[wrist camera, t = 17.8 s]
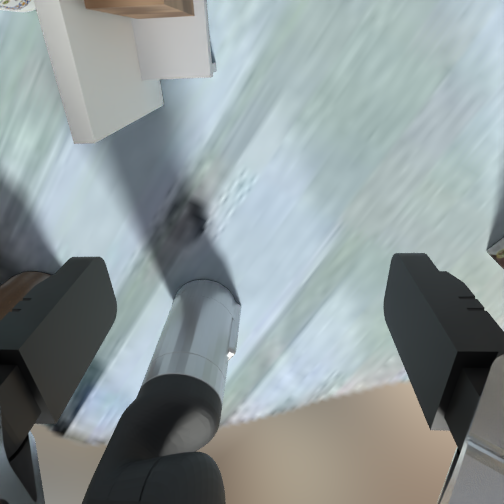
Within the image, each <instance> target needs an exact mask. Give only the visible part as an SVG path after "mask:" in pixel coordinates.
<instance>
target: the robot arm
mask: <svg viewBox="0 0 504 504" xmlns="http://www.w3.org/2000/svg"><path fill="white" fill-rule="evenodd" d="M116 313H117V303H116V298H115V295H114V291H113V288H112V284H111V281H110V278H109V274H108V271H107V267H106V264H105V262H104V260H103V259H102V258H101V257H72V258H70V259H69V260H68V261H67V262H66V263H65V264H64V265H63V266H62V267H61V268H60V269H59V270H58V271H57V272H56V273H55V274H54V275H51V276H50V277H48V278H47V279H45V280H43V281H42V282H40V283H38V284H37V285H35V286H34V287H33V288H32V289H31V290H30V291H29V292H28V293H27V294H26V295H25V296H24V297H23V300H22V301H19V302H18V303H17V304H16V305H15V306H14V307H13V308H12V312H8V313H7V315H6V316H5V317H4V318H3V319H2V320H1V321H0V504H45V501H44V494H43V488H42V481H41V475H40V469H39V463H38V457H37V450H36V443H35V439H34V437H33V435H32V433H31V432H30V430H31V428H32V427H33V425H34V424H35V423H36V424H56V423H57V421H58V420H59V418H60V416H61V414H62V413H63V411H64V409H65V407H66V406H67V404H68V402H69V400H70V399H71V397H72V395H73V393H74V392H75V390H76V388H77V386H78V385H79V383H80V381H81V379H82V378H83V376H84V374H85V372H86V371H87V369H88V367H89V365H90V364H91V362H92V360H93V358H94V357H95V355H96V353H97V351H98V350H99V348H100V346H101V344H102V343H103V341H104V339H105V337H106V335H107V334H108V332H109V330H110V328H111V327H112V325H113V323H114V321H115V318H116ZM240 313H241V305H239V304H237V303H236V302H235V300H234V297H233V295H232V294H231V293H230V291H229V290H228V289H227V288H225V287H224V286H223V285H221V284H219V283H217V282H214V281H210V280H195V281H191V282H188V283H186V284H185V285H183V286H182V287H181V288H180V289H179V291H178V292H177V294H176V297H175V299H174V301H173V304H172V307H171V310H170V312H169V315H168V317H167V320H166V323H165V325H164V328H163V331H162V333H161V336H160V338H159V341H158V344H157V346H156V349H155V352H154V354H153V357H152V359H151V362H150V365H149V367H148V370H147V373H146V375H145V378H144V381H143V383H142V386H141V388H140V391H139V393H138V396H137V398H136V399H135V400H134V401H133V402H132V403H131V404H130V405H129V407H128V408H127V409H126V410H125V411H124V413H123V414H122V416H121V418H120V420H119V422H118V424H117V426H116V428H115V430H114V433H113V435H112V437H111V439H110V441H109V443H108V445H107V448H106V450H105V452H104V454H103V456H102V458H101V460H100V462H99V464H98V467H97V469H96V471H95V473H94V475H93V478H92V480H91V482H90V484H89V487H88V489H87V492H86V494H85V497H84V499H83V502H82V504H225V491H224V486H223V481H222V477H221V473H220V470H219V468H218V466H217V464H216V462H215V461H214V460H213V459H212V458H211V457H210V456H209V455H207V454H205V453H202V452H196V451H197V450H199V449H200V448H201V447H203V446H204V445H206V444H207V443H208V442H209V441H210V440H211V439H212V438H213V437H214V435H215V434H216V432H217V430H218V427H219V423H220V417H221V410H222V402H223V395H224V388H225V380H226V373H227V366H228V361H229V360H230V359H231V358H232V357H233V355H234V354H235V352H236V347H237V338H238V330H239V321H240ZM384 316H385V320H386V323H387V326H388V328H389V331H390V333H391V336H392V338H393V340H394V343H395V345H396V348H397V350H398V353H399V355H400V357H401V360H402V362H403V365H404V367H405V370H406V372H407V374H408V377H409V379H410V382H411V384H412V386H413V389H414V391H415V394H416V396H417V398H418V401H419V404H420V406H421V408H422V411H423V413H424V416H425V418H426V421H427V423H428V425H429V428H430V430H450V432H451V433H452V436H453V438H454V440H455V442H456V444H457V449H456V451H455V454H454V457H453V459H452V462H451V465H450V468H449V471H448V474H447V476H446V479H445V482H444V485H443V488H442V491H441V493H440V496H439V499H438V502H437V504H504V332H503V330H502V329H501V328H500V327H499V325H498V324H497V323H496V322H495V321H494V319H493V318H492V317H491V316H490V314H489V313H488V312H487V311H484V307H483V306H482V304H481V303H480V302H479V301H478V299H475V296H474V295H473V293H472V292H471V291H470V290H469V288H468V287H467V286H466V285H465V283H463V282H462V281H460V280H459V279H457V278H456V277H454V276H453V275H451V274H450V273H448V272H447V271H439V270H438V269H437V268H436V266H435V265H434V264H433V262H432V261H431V260H430V258H429V257H428V256H427V254H425V253H396V254H394V255H393V257H392V260H391V264H390V270H389V275H388V281H387V286H386V292H385V297H384Z"/></svg>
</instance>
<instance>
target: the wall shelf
mask: <svg viewBox="0 0 504 504" xmlns="http://www.w3.org/2000/svg"><path fill="white" fill-rule="evenodd" d="M33 1H34V4H35V8H36V11H37V15H38V18H39V22H40V25H41V29H42V32H43V36H44V39H45V43H46V46H47V50H48V53H49V57H50V60H51V64H52V67H53V71H54V74H55V78H56V82H57V85H58V89H59V92H60V96H61V99H62V103H63V106H64V110H65V113H66V117H67V120H68V124H69V127H70V131H71V134H72V138H73V141H74V144H84V143H96V142H98V141H100V140H102V139H104V138H106V137H107V136H109V135H111V134H113V133H115V132H116V131H118V130H120V129H122V128H124V127H125V126H127V125H129V124H131V123H133V122H134V121H136V120H138V119H140V118H142V117H143V116H145V115H147V114H149V113H151V112H153V111H154V110H156V109H158V108H160V107H162V106H163V105H164V103H163V96H162V89H161V83H160V79H184V78H209V77H212V76H213V72H216V63H212V59H211V47H210V35H209V24H208V12H207V0H193V5H194V14H195V16H184V17H166V18H147V19H135V18H130V17H125V16H120V15H115V14H110V13H105V12H100V11H95V10H90V9H86V7H85V3H84V0H33Z"/></svg>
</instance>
